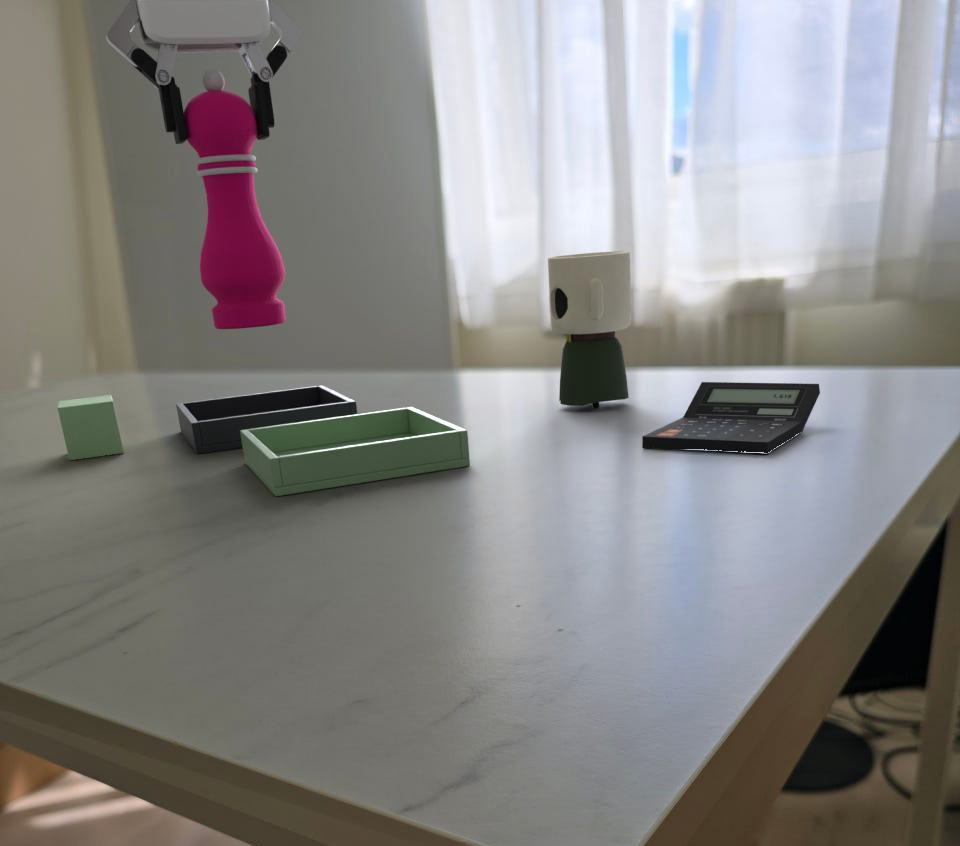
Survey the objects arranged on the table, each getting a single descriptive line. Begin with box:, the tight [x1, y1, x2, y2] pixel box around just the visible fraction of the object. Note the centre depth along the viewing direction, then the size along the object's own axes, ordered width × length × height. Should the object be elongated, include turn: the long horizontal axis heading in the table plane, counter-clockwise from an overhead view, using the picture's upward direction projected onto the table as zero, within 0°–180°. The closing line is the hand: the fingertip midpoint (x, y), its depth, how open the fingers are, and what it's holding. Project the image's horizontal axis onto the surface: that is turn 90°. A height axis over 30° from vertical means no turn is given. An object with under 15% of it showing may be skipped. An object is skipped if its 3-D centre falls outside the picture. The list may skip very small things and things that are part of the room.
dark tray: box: [175, 384, 358, 455], centre depth 93 cm, size 14×13×3 cm
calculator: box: [641, 381, 821, 453], centre depth 76 cm, size 9×12×3 cm
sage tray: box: [240, 406, 471, 497], centre depth 77 cm, size 14×13×3 cm
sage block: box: [57, 394, 125, 461], centre depth 89 cm, size 4×4×4 cm
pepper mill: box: [183, 68, 287, 330], centre depth 87 cm, size 7×7×20 cm
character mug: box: [547, 250, 632, 410], centre depth 90 cm, size 11×7×13 cm, turn 1°
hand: (222, 137), depth 85 cm, fingers closed on pepper mill, 6 cm apart
